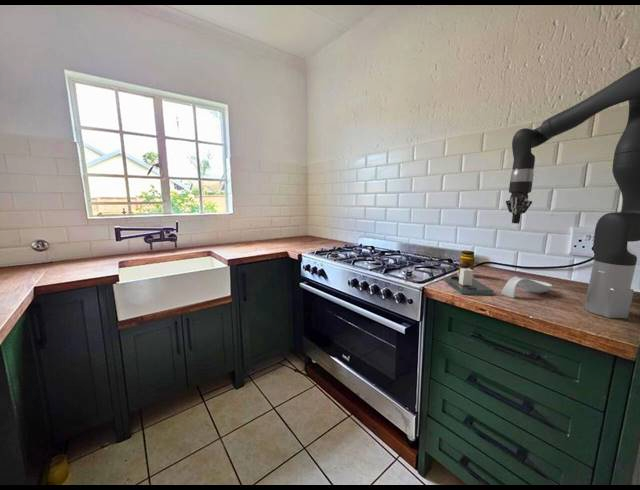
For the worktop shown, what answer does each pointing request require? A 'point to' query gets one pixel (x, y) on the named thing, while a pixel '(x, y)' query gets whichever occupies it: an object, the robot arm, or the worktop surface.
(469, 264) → the condiment
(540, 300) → the worktop surface
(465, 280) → the block
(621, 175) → the robot arm
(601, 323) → the worktop surface
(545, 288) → the spoon rest
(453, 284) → the plate
